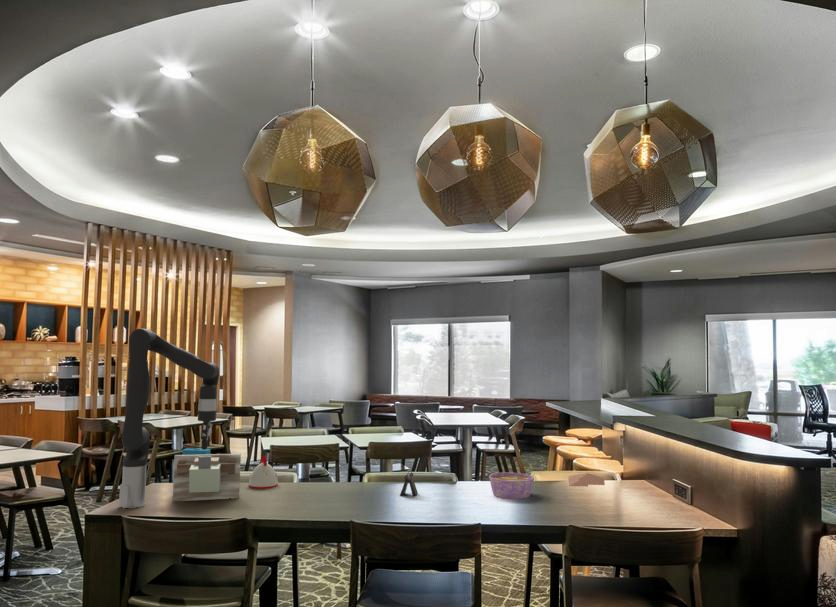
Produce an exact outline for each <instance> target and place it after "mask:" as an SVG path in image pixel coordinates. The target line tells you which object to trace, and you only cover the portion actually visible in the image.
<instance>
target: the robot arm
mask: <svg viewBox="0 0 836 607" xmlns="http://www.w3.org/2000/svg"><path fill="white" fill-rule="evenodd" d="M149 352H153V353H156V354H159V355H161V356H163V357H164V358H166V359H167V360H169V361H170V362H172V363H173V364H174V365H176V366H179V367H181V368H183V369H185V370H187V371H189V372H191V373H193V374H194V375H196V376H197V377H199V378H201V379H202V382H201V384H202V385H201V386H200V387H199V395H198V396H199V400H198V405H197V421H198V422H202V424H201V426H200V428H201V429H200V440H201V449H208V447H210V444H211V436H212V428H213V424H212V423H213V422H215V421H216V420H217V406H218V405H217V395H218V394H217V393H218V392H217V387H218V384H219V379H220V378H219V377H220V368H219V366H218V364H216V363H215V362H207V361H205V360H202V359H201V358H199V356H198V355H196V354H194V353H192V352H189V351H188V350H185V349H184V348H181V347H179V346H176V345H174V344H172V343H171V342H169V341H167V340H165V339H164V338H162V337H161V336H160V335H158V334H157V333H155V332H154V331H152V330H151V329H148V328H136V329H133V331H131V333H130V335H129V338H128V354H129V358H128V359H129V360H128V361H129V362H128V363H129V364H128V373H127V382H126V396H125V397H126V400H125V415H124V422H123V427H122V432H121V444H122V446H123V448H125V449H126V454H125V456H124V458H123V460H122V477H121V479H122V481H121V484H119V496H118V497H119V498H118V500H119V502H118V507H119V506H120V507H124V508H131V509H137V508H136V507H139V508H142V506H143V507H145V506H144V505H146V486H147V485H146V483H147V463H148V458H149V454H150V442H151V441H150V440H151V439H150V438H151V437H150V432H149V430H148V429H147V428H146V427H144V425H143V423H144V415H145V411H146V409H147V406H148V403H149V399H150V395H151V384H152V383H151V380H152V379H151V375H150V371H149V366H148V354H149ZM120 507H119V508H120ZM124 508H123V509H124Z"/></svg>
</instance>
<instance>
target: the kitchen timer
mask: <svg viewBox="0 0 836 607" xmlns="http://www.w3.org/2000/svg"><path fill="white" fill-rule="evenodd" d="M278 479H279V478H278V472H276V471H275V468H273V466H272V465H270V464H269V463H268V460H267V457H266V455H262V457H261V459H260V463H259V464H258V465H256V467H255V468H254V469H253V470H252V472H251V473H250V475H249V479H248V480H249V481H248V488H249V487H250V488H249V489H253V488H256V489H255V490H262V489H263V490H264V488H266V489H273V488H276V487H278V486H279V481H278Z"/></svg>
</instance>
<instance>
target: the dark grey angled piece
mask: <svg viewBox="0 0 836 607" xmlns="http://www.w3.org/2000/svg"><path fill="white" fill-rule="evenodd" d="M408 484H409V487H410V491H411V496H412V497H417V496H418V494H419V492H418V490H417V489H418V488H417V486H416V483H415V481H414V473H413V472H407V473H406V475H405V476H404V483H403V486H402V489H401V491H400V495H399V497H404V496H405V495H406V492H407V488H408Z"/></svg>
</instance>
